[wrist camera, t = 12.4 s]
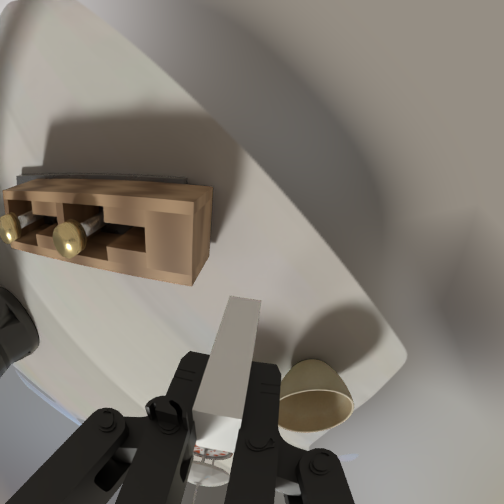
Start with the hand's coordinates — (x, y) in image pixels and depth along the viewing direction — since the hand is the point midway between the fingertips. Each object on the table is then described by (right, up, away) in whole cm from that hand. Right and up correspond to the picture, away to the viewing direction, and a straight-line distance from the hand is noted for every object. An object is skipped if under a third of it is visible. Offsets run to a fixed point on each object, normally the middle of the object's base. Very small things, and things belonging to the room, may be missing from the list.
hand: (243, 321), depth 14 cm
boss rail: (-19, +9, +15) cm, 26 cm away
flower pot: (+8, -13, +21) cm, 26 cm away
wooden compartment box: (-15, +8, +14) cm, 22 cm away
